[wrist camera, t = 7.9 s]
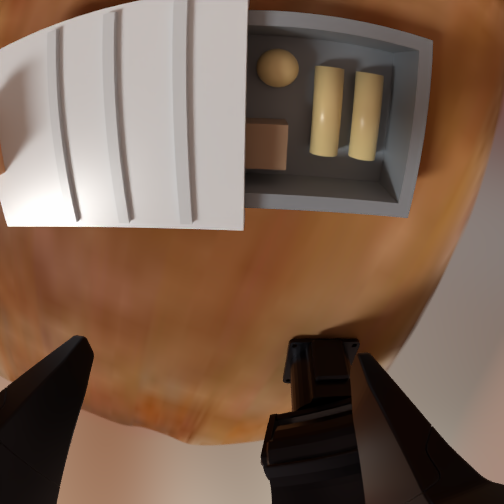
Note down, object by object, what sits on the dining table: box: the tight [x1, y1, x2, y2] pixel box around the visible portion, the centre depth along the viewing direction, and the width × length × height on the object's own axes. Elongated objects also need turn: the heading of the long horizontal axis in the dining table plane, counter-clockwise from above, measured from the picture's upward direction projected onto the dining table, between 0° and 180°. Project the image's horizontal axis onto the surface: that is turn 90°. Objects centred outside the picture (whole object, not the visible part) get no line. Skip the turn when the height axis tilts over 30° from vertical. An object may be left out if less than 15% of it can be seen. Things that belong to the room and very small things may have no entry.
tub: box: [244, 10, 433, 218], centre depth 15 cm, size 10×14×4 cm
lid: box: [0, 0, 249, 231], centre depth 11 cm, size 12×16×5 cm
